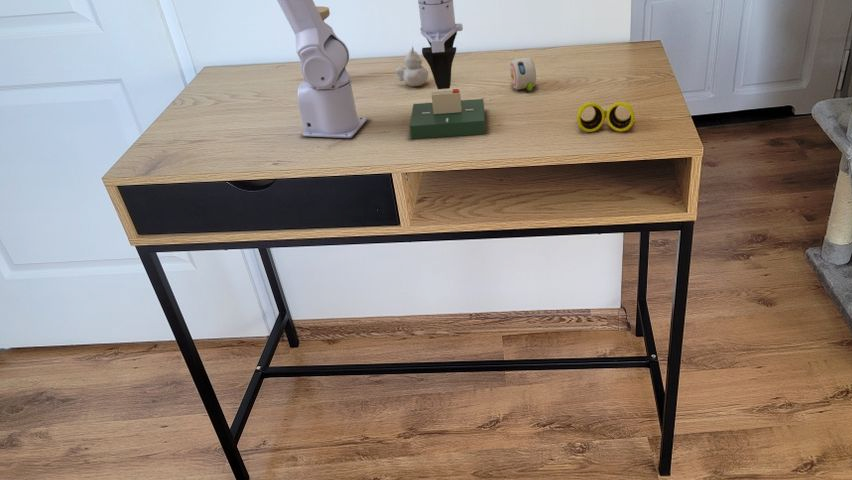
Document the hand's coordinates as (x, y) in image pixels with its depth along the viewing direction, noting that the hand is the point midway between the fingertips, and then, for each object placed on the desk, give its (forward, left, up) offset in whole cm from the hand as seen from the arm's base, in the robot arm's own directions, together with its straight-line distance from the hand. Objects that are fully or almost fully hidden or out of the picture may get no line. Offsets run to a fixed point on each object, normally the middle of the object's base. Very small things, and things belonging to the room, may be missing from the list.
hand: (444, 80), depth 130 cm
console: (0, 0, -8) cm, 8 cm away
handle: (-32, +18, -9) cm, 38 cm away
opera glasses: (+28, +1, -9) cm, 29 cm away
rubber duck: (-13, +18, -9) cm, 24 cm away
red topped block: (0, 0, -6) cm, 6 cm away
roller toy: (+10, +18, -9) cm, 23 cm away
